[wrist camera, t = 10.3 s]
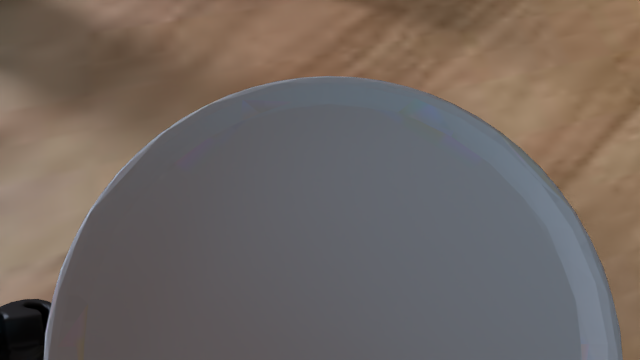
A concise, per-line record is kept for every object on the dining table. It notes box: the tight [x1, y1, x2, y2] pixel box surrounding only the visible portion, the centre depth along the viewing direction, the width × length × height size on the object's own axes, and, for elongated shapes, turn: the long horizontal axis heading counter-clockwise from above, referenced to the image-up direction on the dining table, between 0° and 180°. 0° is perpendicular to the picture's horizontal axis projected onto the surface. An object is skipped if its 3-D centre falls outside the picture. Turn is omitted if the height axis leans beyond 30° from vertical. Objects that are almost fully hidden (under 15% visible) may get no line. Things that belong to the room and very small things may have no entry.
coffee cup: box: [44, 76, 623, 360], centre depth 14 cm, size 9×9×12 cm
